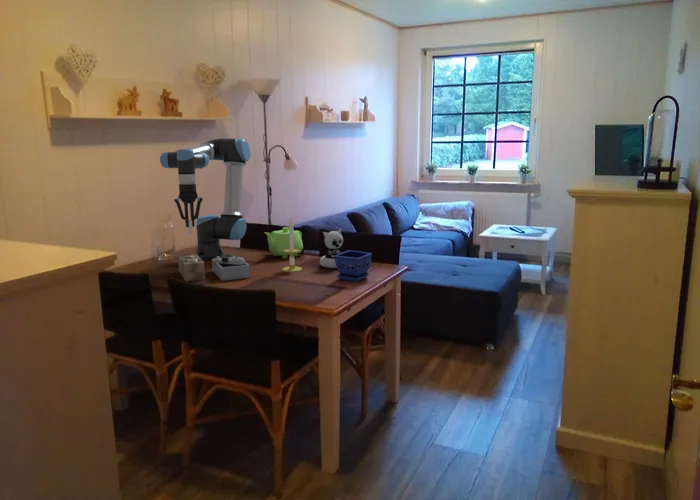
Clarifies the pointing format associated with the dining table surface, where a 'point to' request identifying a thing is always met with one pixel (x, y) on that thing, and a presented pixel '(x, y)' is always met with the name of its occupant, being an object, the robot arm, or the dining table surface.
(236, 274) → the caddy
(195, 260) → the cream rounded upright piece
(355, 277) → the flower pot
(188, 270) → the beige slotted holder
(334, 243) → the decorative figurine
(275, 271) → the dining table surface
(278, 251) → the teapot
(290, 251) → the candle
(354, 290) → the dining table surface
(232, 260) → the camera
